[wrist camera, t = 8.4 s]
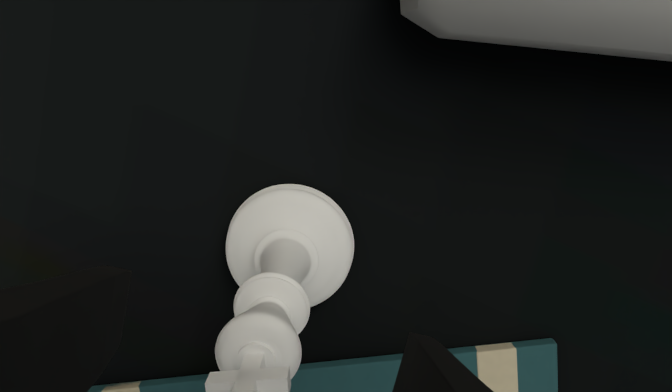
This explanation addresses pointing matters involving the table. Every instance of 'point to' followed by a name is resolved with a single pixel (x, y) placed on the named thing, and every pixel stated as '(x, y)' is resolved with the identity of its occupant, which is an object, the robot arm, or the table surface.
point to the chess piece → (278, 283)
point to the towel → (381, 371)
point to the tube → (553, 24)
